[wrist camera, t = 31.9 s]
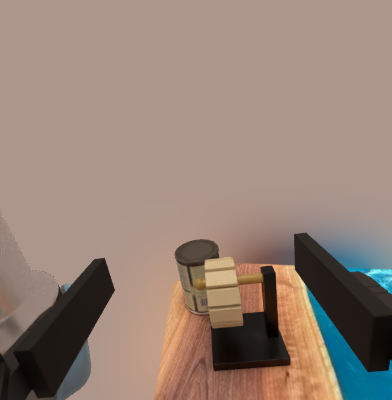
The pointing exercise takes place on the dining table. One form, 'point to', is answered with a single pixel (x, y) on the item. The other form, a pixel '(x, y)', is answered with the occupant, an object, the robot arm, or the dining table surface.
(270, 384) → the dining table surface
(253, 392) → the dining table surface
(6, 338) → the robot arm
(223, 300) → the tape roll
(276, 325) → the hook stand
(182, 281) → the coffee can
